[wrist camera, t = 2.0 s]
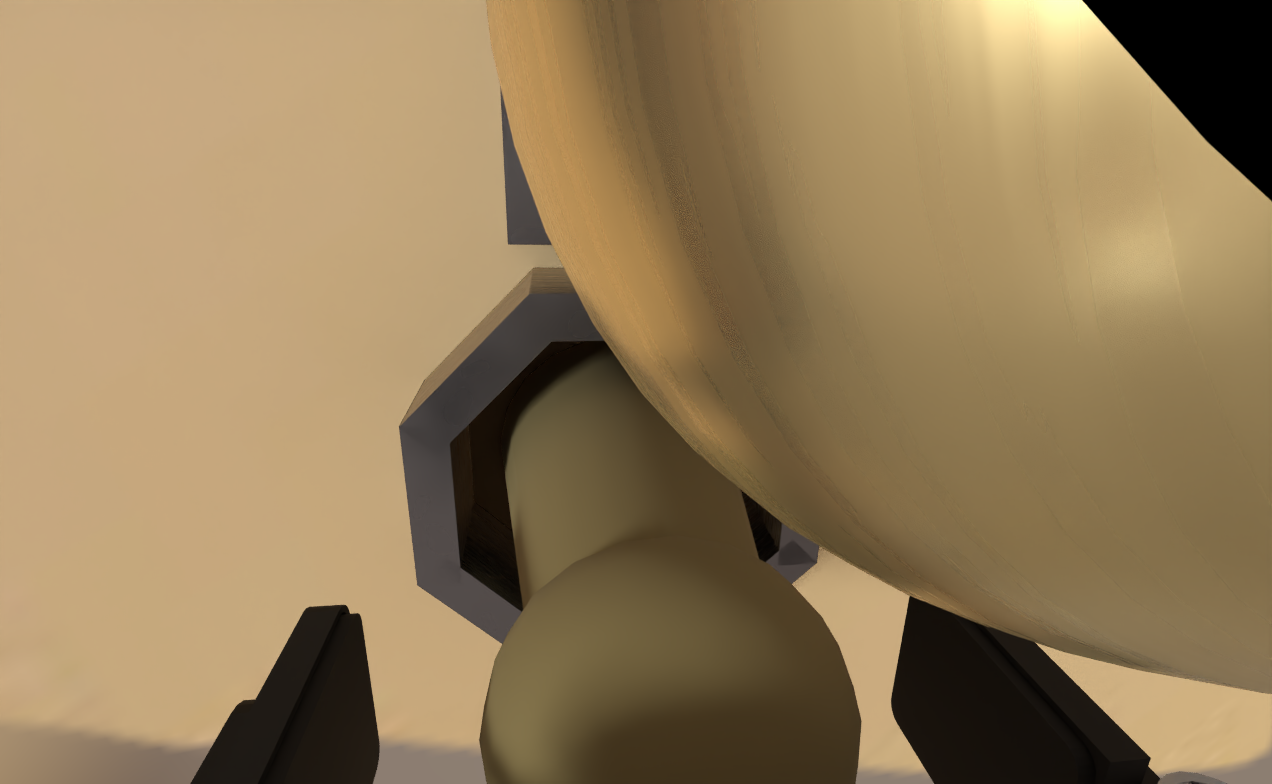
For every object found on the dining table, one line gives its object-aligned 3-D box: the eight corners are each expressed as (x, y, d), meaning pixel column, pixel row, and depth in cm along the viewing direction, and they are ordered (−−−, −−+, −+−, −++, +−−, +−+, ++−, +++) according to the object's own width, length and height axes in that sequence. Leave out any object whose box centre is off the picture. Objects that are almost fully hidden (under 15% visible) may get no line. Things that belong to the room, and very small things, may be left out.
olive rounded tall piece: (548, 302, 16) (540, 562, 6) (759, 384, 18) (1036, 706, 8) (469, 504, 18) (360, 972, 8) (668, 565, 20) (795, 1026, 9)
